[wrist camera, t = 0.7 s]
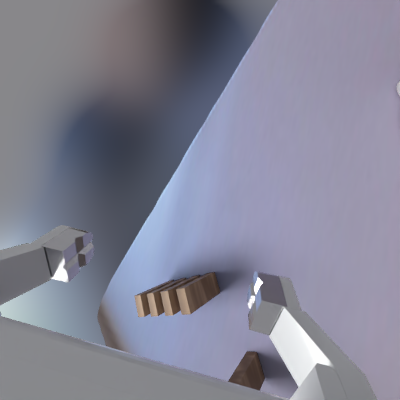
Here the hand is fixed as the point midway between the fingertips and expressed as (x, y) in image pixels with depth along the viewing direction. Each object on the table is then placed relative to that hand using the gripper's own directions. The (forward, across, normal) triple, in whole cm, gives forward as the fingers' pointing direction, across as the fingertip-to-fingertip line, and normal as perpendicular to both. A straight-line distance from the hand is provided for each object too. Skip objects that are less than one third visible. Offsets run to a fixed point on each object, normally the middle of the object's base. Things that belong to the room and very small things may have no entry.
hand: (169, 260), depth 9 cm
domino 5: (+19, -17, +42) cm, 49 cm away
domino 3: (+30, -1, +36) cm, 47 cm away
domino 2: (+32, +2, +39) cm, 50 cm away
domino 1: (+33, +6, +42) cm, 54 cm away
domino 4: (+30, -5, +32) cm, 44 cm away
